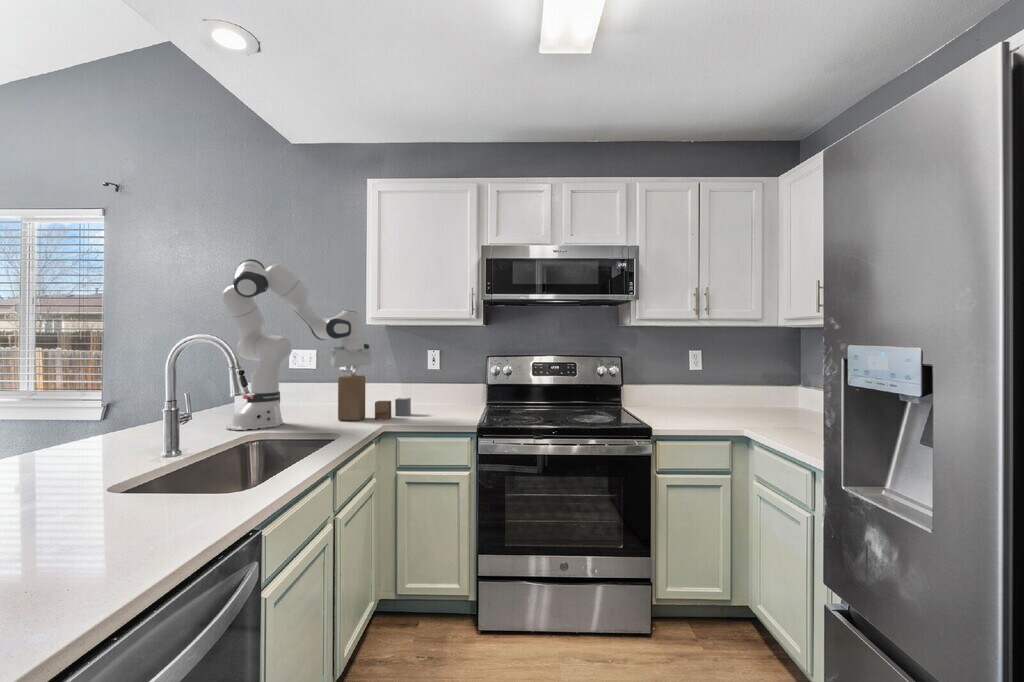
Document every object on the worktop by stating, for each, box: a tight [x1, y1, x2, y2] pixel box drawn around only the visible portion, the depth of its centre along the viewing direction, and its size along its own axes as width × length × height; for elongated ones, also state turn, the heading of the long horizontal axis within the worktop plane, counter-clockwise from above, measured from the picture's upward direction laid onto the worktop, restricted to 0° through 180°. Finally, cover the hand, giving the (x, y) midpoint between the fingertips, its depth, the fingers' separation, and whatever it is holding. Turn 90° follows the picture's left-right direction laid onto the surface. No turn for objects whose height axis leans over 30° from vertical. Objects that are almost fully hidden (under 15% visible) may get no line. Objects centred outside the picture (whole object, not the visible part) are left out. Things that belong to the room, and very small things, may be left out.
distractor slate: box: [394, 397, 412, 417], centre depth 250 cm, size 6×6×8 cm
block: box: [337, 374, 366, 422], centre depth 238 cm, size 10×10×20 cm
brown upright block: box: [374, 400, 392, 421], centre depth 240 cm, size 6×6×8 cm
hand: (352, 376), depth 238 cm, fingers closed, pressing on block
